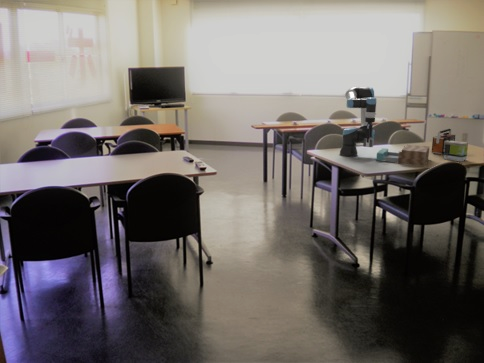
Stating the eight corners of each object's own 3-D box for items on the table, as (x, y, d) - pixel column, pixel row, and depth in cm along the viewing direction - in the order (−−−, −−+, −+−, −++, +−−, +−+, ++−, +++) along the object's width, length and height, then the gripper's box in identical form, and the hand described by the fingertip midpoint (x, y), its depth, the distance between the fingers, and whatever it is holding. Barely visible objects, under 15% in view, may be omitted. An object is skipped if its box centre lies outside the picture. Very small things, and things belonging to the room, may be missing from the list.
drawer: (376, 160, 405) (376, 153, 404) (381, 155, 426) (382, 148, 425) (405, 163, 396) (406, 155, 394) (409, 157, 417) (410, 150, 415)
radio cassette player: (442, 155, 430) (444, 132, 425) (430, 153, 437) (432, 131, 432) (454, 150, 451) (456, 129, 446) (442, 149, 458) (445, 127, 453)
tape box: (363, 146, 401) (363, 139, 400) (364, 145, 406) (365, 138, 404) (372, 147, 398) (372, 139, 397) (373, 146, 403) (373, 138, 401)
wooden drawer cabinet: (397, 163, 396) (399, 149, 394) (403, 157, 421) (404, 144, 418) (424, 165, 388) (425, 152, 385) (428, 159, 412) (429, 146, 410)
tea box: (466, 160, 411) (468, 142, 407) (460, 161, 404) (463, 143, 400) (449, 157, 421) (451, 140, 418) (443, 159, 415) (445, 141, 411)
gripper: (372, 118, 387) (370, 148, 393) (377, 116, 402) (375, 144, 408) (363, 118, 390) (361, 147, 396) (368, 115, 405) (366, 143, 411)
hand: (368, 145), depth 402 cm, fingers closed on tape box, 5 cm apart
